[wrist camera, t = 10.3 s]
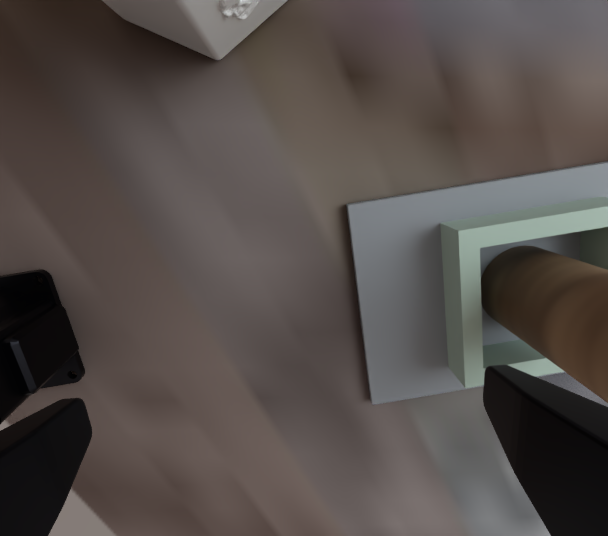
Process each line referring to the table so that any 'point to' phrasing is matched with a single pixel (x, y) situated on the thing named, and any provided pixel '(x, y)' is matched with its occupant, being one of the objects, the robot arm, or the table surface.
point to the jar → (198, 20)
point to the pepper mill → (553, 309)
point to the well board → (461, 273)
